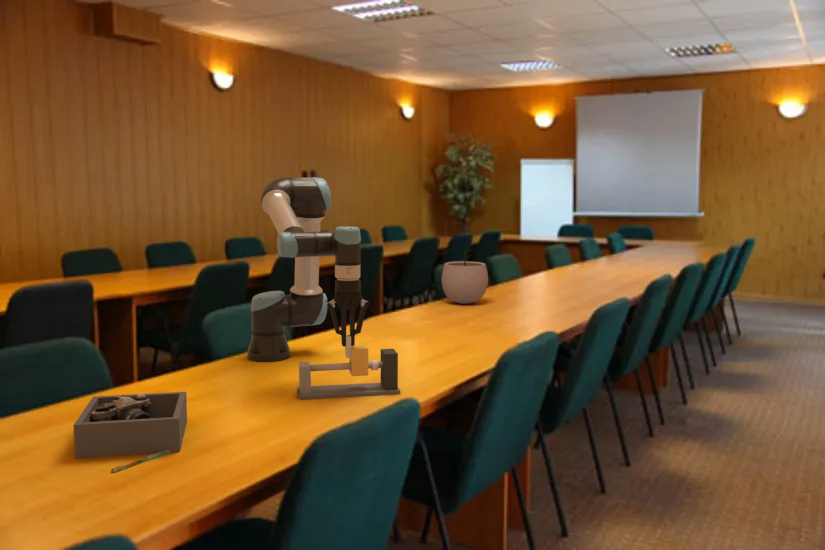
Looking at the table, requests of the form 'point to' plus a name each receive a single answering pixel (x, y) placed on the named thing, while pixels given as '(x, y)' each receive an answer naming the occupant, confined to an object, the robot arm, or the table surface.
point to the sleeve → (359, 360)
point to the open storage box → (133, 428)
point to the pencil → (139, 461)
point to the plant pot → (464, 280)
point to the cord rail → (351, 390)
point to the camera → (123, 409)
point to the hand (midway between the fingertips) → (348, 356)
